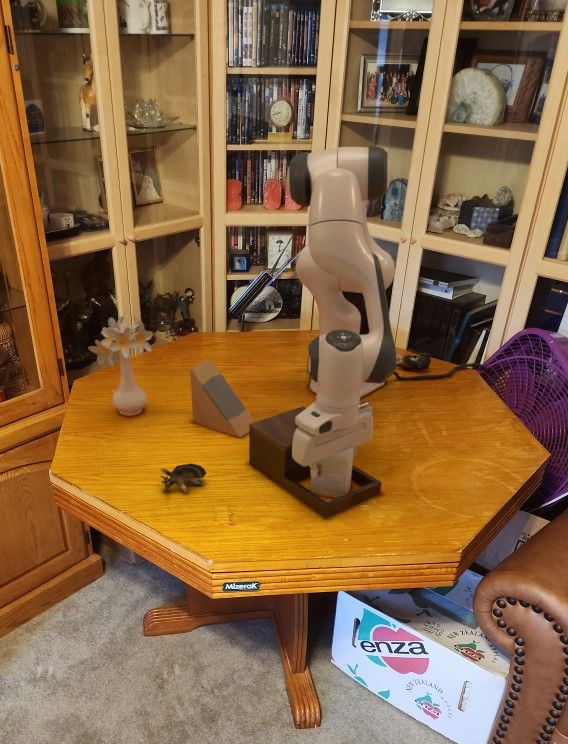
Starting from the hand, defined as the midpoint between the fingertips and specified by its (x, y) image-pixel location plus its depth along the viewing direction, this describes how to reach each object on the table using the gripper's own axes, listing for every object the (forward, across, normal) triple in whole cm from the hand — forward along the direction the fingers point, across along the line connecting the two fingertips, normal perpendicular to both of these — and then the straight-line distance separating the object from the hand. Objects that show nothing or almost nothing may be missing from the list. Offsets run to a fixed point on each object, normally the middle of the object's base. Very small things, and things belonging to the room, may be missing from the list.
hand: (331, 469), depth 143 cm
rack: (+5, 0, -6) cm, 8 cm away
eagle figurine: (+6, +26, -20) cm, 33 cm away
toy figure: (+5, -65, -38) cm, 76 cm away
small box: (+6, 0, 0) cm, 6 cm away
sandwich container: (+6, +1, -40) cm, 40 cm away
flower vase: (+6, +18, -60) cm, 62 cm away
